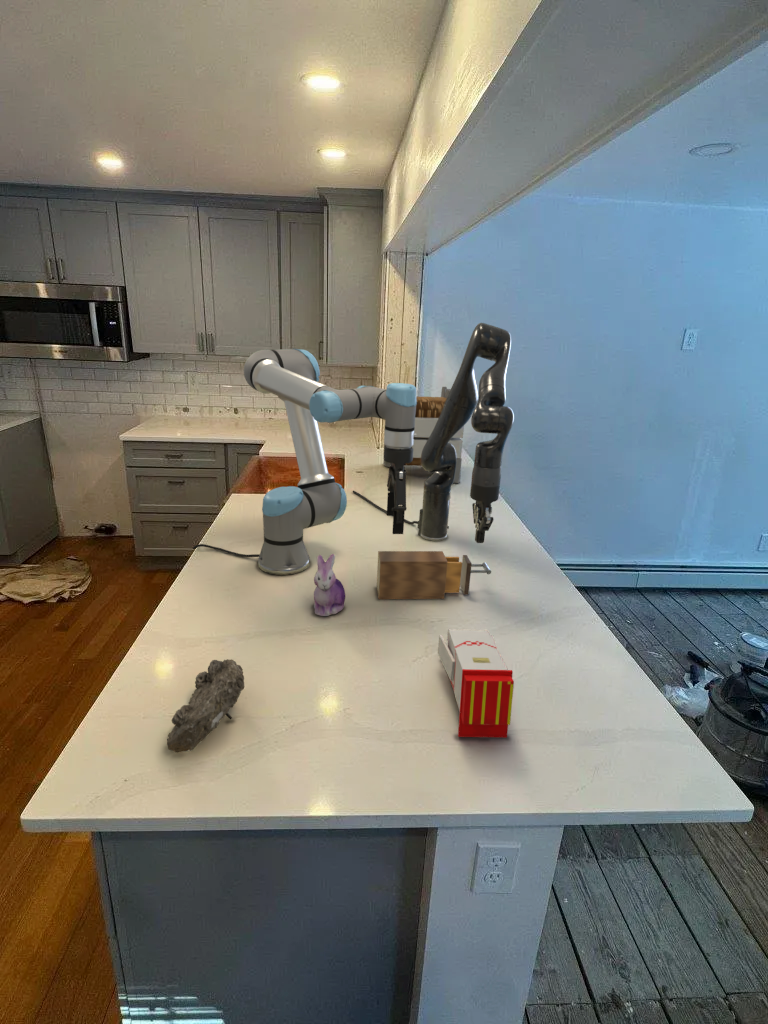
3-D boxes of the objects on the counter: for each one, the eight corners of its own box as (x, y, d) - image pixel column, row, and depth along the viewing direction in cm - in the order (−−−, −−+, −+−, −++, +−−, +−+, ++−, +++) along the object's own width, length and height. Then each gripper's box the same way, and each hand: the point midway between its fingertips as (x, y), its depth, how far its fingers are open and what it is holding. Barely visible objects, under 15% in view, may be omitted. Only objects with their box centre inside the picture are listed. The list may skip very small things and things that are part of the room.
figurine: (319, 621, 142) (319, 567, 137) (305, 602, 151) (304, 551, 146) (353, 613, 146) (354, 560, 141) (337, 596, 155) (338, 545, 150)
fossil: (192, 660, 117) (244, 628, 112) (224, 691, 120) (276, 661, 115) (142, 746, 98) (202, 712, 93) (182, 779, 101) (242, 748, 96)
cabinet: (439, 587, 163) (442, 551, 159) (444, 598, 156) (447, 561, 152) (376, 587, 161) (378, 551, 157) (378, 599, 154) (380, 561, 151)
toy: (488, 613, 130) (523, 677, 101) (484, 667, 133) (517, 744, 104) (435, 612, 130) (455, 676, 101) (432, 666, 133) (451, 743, 103)
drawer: (483, 585, 163) (487, 554, 160) (489, 594, 158) (492, 563, 155) (404, 585, 161) (406, 554, 157) (407, 595, 156) (409, 563, 152)
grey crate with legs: (382, 463, 289) (386, 382, 275) (445, 464, 293) (451, 384, 279) (390, 482, 257) (394, 392, 243) (460, 483, 261) (468, 394, 247)
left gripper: (421, 458, 133) (415, 542, 140) (406, 435, 156) (402, 508, 163) (389, 458, 132) (385, 542, 139) (379, 435, 155) (376, 508, 162)
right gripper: (507, 489, 144) (499, 551, 150) (492, 474, 156) (486, 533, 162) (478, 489, 143) (471, 551, 149) (465, 474, 155) (460, 533, 161)
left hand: (394, 524), depth 151 cm, fingers open, 13 cm apart
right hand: (479, 542), depth 155 cm, fingers closed
